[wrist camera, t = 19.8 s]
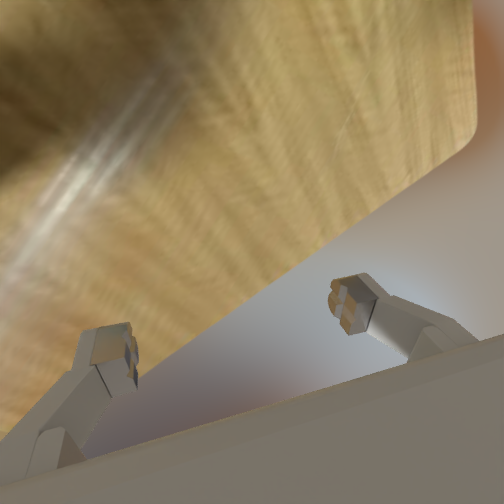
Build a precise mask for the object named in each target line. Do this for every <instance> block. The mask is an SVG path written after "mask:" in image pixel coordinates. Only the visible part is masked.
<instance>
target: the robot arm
mask: <svg viewBox="0 0 504 504" xmlns="http://www.w3.org/2000/svg"><path fill="white" fill-rule="evenodd" d="M330 287H331V289H332V290H333V291H332V292H331V293H330V294H329V297H328V304H329V308H330V310H331V312H332V313H333V315H334V316H335V317H337V318H339V319H340V325H341V326H342V328H343V329H344V330H345V332H346V333H347V334H348V335H353V334H357V333H361V332H366V331H367V333H368V334H370V335H371V336H373V337H375V338H376V339H378V340H379V341H381V342H383V343H384V344H386V345H387V346H389V347H391V348H392V349H394V350H395V351H397V352H399V353H400V354H402V355H404V356H405V357H407V358H408V361H407V363H406V364H403V365H399V366H396V367H393V368H390V369H386V370H383V371H380V372H376V373H373V374H370V375H366V376H363V377H360V378H357V379H353V380H350V381H347V382H343V383H340V384H337V385H333V386H330V387H327V388H324V389H321V390H317V391H314V392H311V393H307V394H304V395H301V396H297V397H294V398H291V399H287V400H284V401H281V402H277V403H274V404H271V405H268V406H264V407H261V408H258V409H255V410H251V411H248V412H244V413H241V414H238V415H234V416H231V417H228V418H225V419H221V420H218V421H215V422H212V423H208V424H205V425H201V426H198V427H195V428H192V429H189V430H185V431H182V432H179V433H175V434H172V435H169V436H165V437H162V438H159V439H155V440H152V441H149V442H145V443H142V444H139V445H135V446H132V447H129V448H126V449H122V450H119V451H116V452H112V453H109V454H106V455H103V456H99V457H96V458H92V459H89V460H87V459H86V457H85V456H84V454H83V453H82V452H81V448H82V447H83V445H84V444H85V442H86V441H87V439H88V437H89V436H90V434H91V432H92V431H93V429H94V427H95V426H96V424H97V423H98V421H99V419H100V418H101V416H102V414H103V413H104V411H105V410H106V407H107V406H108V405H109V403H110V401H111V398H113V397H116V396H120V395H123V394H127V393H130V392H134V391H137V389H138V372H137V369H136V366H137V364H138V363H139V354H138V346H137V341H136V338H135V337H134V336H132V327H131V324H130V322H125V323H119V324H114V325H108V326H103V327H99V328H94V329H88V330H83V331H82V333H81V334H80V338H79V342H78V346H77V349H76V353H75V357H74V361H73V365H72V369H71V371H67V372H65V374H64V375H63V376H62V377H61V378H60V379H59V380H58V381H57V382H56V383H55V384H54V385H53V386H52V387H51V388H50V389H49V390H48V392H47V393H46V394H45V395H44V396H43V397H42V398H41V399H40V400H39V401H38V402H37V403H36V404H35V405H34V406H33V407H32V408H31V410H30V411H29V412H28V413H27V414H26V415H25V416H24V417H23V418H22V419H21V420H20V421H19V422H18V423H17V424H16V425H15V427H14V428H13V429H12V430H11V431H10V432H9V433H8V434H7V435H6V436H5V437H4V438H3V439H2V440H1V441H0V504H504V334H502V335H498V336H495V337H492V338H489V339H485V340H482V341H479V340H478V339H476V338H475V337H474V336H472V334H470V333H469V332H468V331H467V330H466V329H465V328H463V327H462V326H461V325H460V324H459V323H457V322H456V321H455V320H454V319H452V318H450V317H447V316H445V315H442V314H440V313H437V312H435V311H432V310H429V309H427V308H424V307H422V306H419V305H417V304H414V303H412V302H409V301H407V300H404V299H402V298H399V297H397V296H394V295H393V296H390V295H389V294H388V293H387V292H386V291H385V290H384V289H383V288H382V287H381V286H380V285H379V284H378V283H376V281H375V280H374V279H372V277H370V276H369V275H368V274H367V273H361V274H356V275H352V276H348V277H343V278H338V279H334V280H333V281H332V282H331V286H330Z"/></svg>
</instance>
